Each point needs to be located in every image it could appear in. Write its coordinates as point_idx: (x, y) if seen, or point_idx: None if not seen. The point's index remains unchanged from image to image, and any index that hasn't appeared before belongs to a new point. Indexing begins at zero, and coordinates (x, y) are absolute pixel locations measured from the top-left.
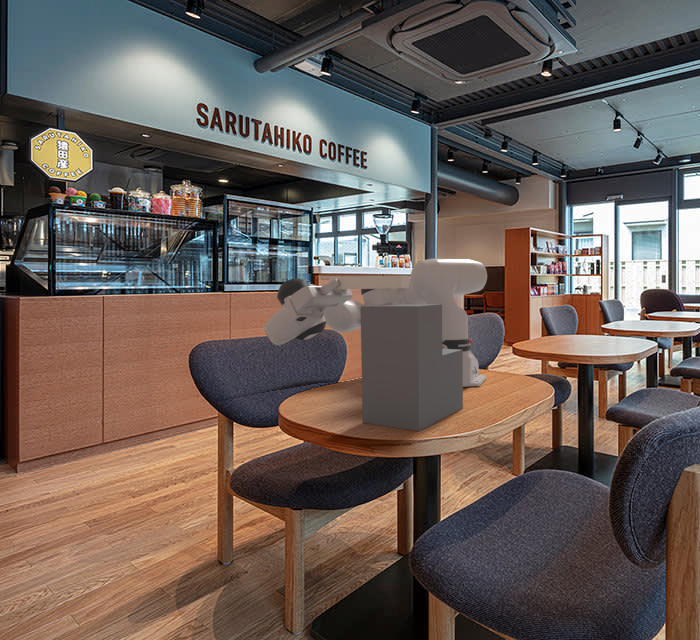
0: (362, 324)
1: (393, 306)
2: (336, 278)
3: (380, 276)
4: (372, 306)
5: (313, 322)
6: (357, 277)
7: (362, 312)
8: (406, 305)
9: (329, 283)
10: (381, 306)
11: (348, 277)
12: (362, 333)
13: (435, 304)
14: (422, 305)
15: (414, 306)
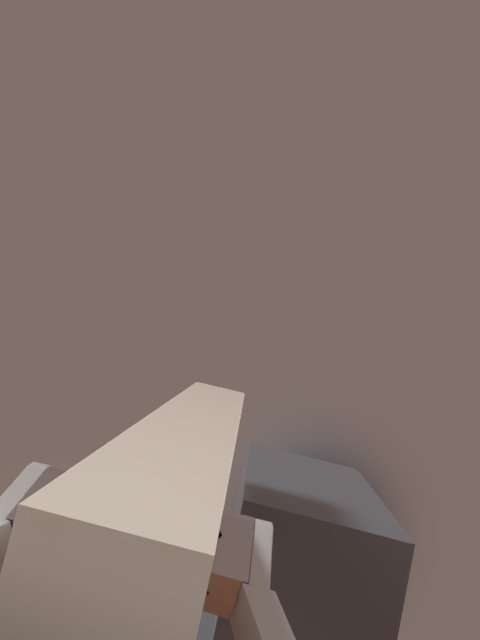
0: (400, 600)
1: (374, 492)
2: (223, 507)
3: (241, 407)
4: (396, 521)
5: None
6: (236, 436)
7: (407, 560)
8: (324, 476)
9: (278, 607)
10: (385, 507)
11: (232, 454)
12: (395, 630)
13: (257, 447)
14: (318, 462)
15: (358, 472)
